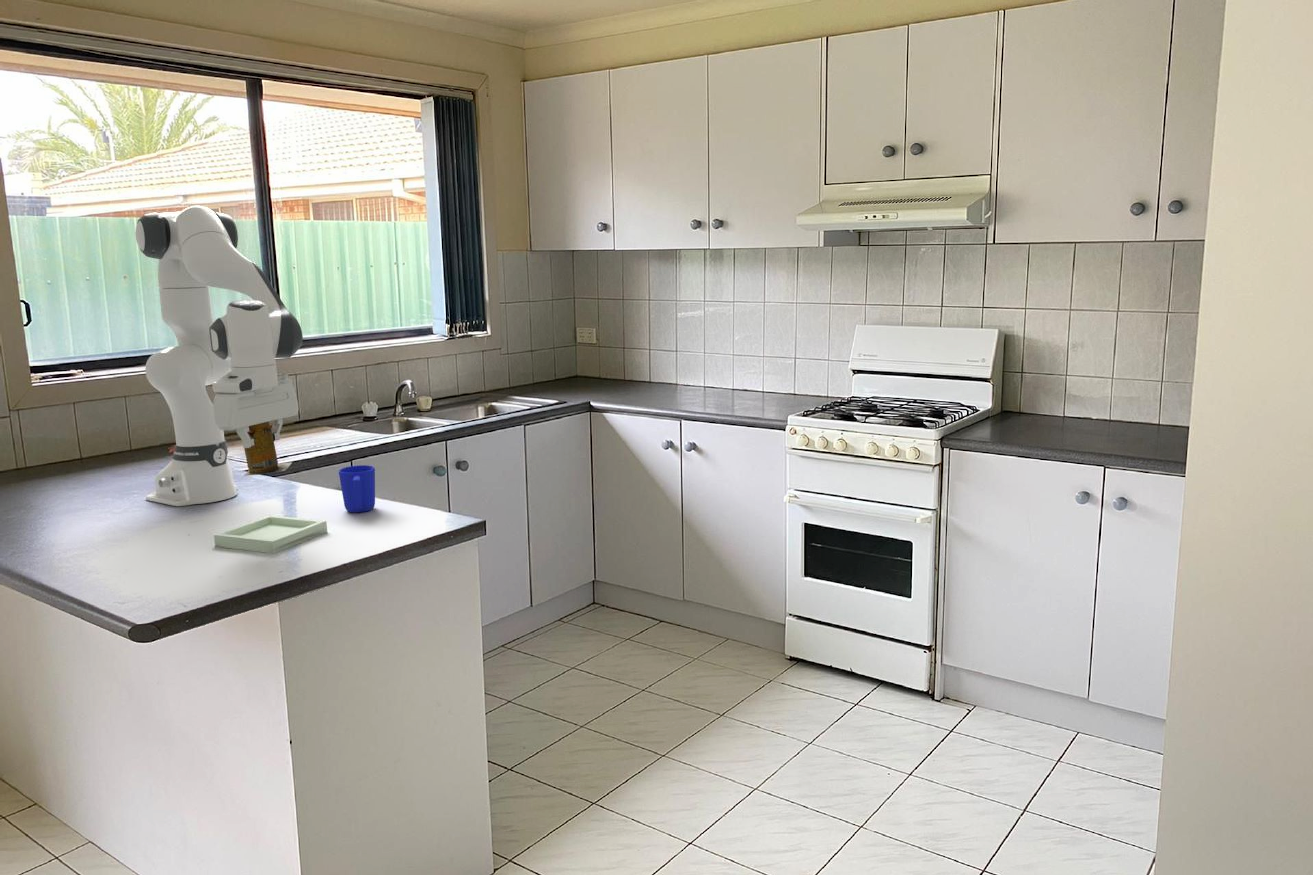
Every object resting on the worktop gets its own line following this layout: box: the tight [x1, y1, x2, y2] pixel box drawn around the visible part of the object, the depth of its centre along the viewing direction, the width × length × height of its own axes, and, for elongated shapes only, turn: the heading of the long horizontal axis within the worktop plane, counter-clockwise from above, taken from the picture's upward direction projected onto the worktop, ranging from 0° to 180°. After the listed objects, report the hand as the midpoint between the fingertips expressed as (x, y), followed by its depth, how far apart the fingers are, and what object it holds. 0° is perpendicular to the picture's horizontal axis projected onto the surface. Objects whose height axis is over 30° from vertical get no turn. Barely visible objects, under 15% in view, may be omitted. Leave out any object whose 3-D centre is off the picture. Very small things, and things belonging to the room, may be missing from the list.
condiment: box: [242, 421, 293, 477], centre depth 211 cm, size 7×8×12 cm
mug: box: [338, 464, 376, 514], centre depth 233 cm, size 8×12×10 cm
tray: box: [213, 514, 328, 554], centre depth 214 cm, size 16×16×2 cm
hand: (261, 443), depth 210 cm, fingers closed on condiment, 6 cm apart
